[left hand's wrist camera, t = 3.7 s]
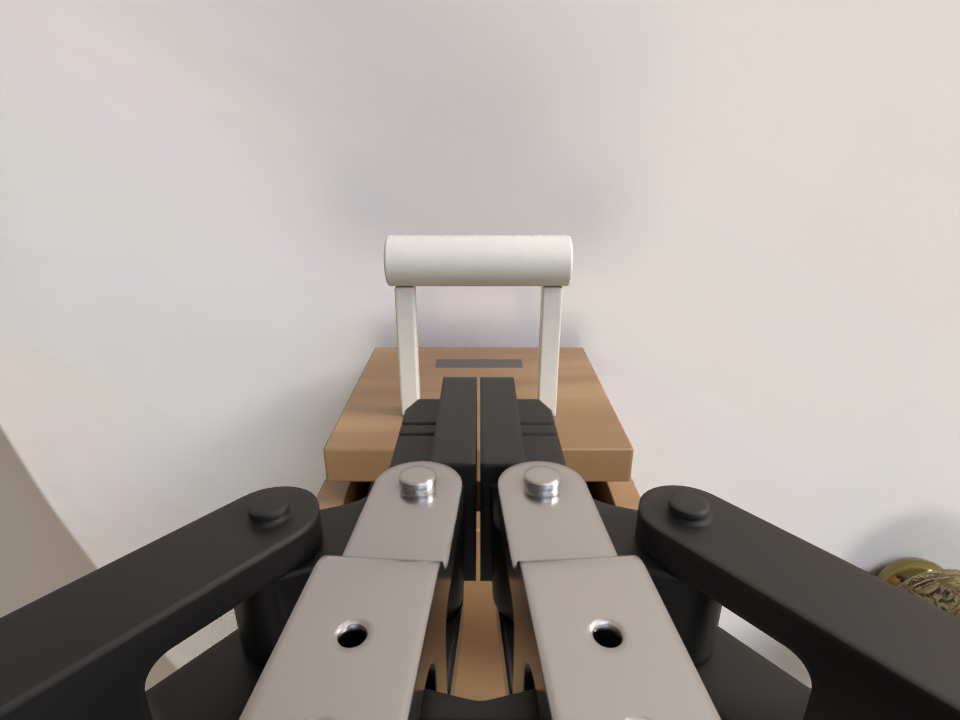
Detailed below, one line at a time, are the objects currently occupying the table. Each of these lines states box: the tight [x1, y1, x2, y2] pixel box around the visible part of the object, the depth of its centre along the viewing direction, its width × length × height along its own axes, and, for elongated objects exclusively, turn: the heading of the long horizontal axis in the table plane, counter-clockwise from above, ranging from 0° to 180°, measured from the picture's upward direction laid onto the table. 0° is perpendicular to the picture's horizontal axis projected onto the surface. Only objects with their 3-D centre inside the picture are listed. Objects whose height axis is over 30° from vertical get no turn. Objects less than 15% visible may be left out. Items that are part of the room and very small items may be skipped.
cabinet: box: [317, 476, 640, 701], centre depth 25 cm, size 18×11×11 cm, turn 0°
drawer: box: [324, 235, 633, 512], centre depth 23 cm, size 23×9×9 cm, turn 0°
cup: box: [877, 557, 960, 618], centre depth 27 cm, size 8×7×8 cm
